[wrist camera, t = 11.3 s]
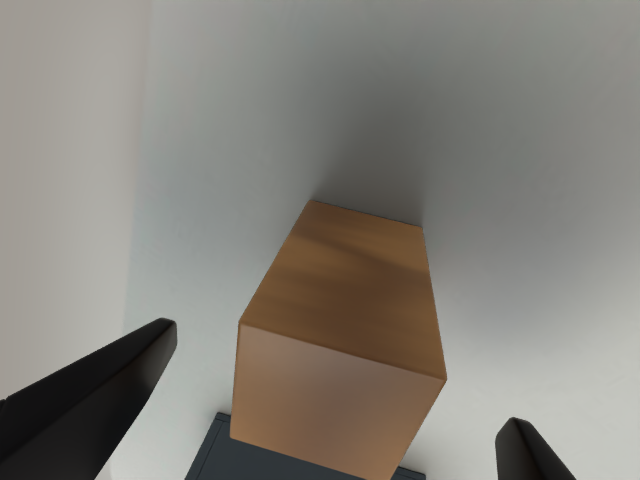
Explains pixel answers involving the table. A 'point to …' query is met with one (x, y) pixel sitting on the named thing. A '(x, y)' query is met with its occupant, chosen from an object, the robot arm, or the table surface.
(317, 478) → the bin
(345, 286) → the block
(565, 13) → the table surface
